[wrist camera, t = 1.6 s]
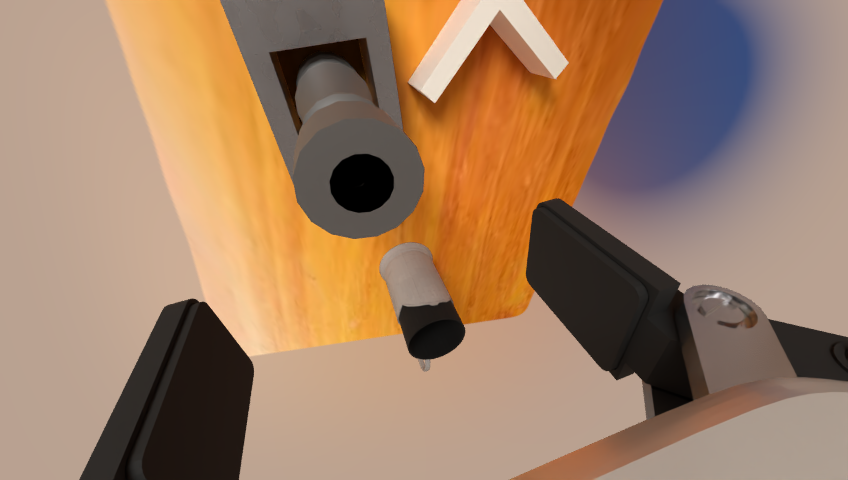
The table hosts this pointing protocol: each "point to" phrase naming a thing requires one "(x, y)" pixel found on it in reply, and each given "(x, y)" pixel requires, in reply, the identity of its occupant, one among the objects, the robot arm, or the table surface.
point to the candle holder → (350, 153)
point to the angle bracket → (477, 9)
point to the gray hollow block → (307, 26)
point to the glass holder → (421, 302)
